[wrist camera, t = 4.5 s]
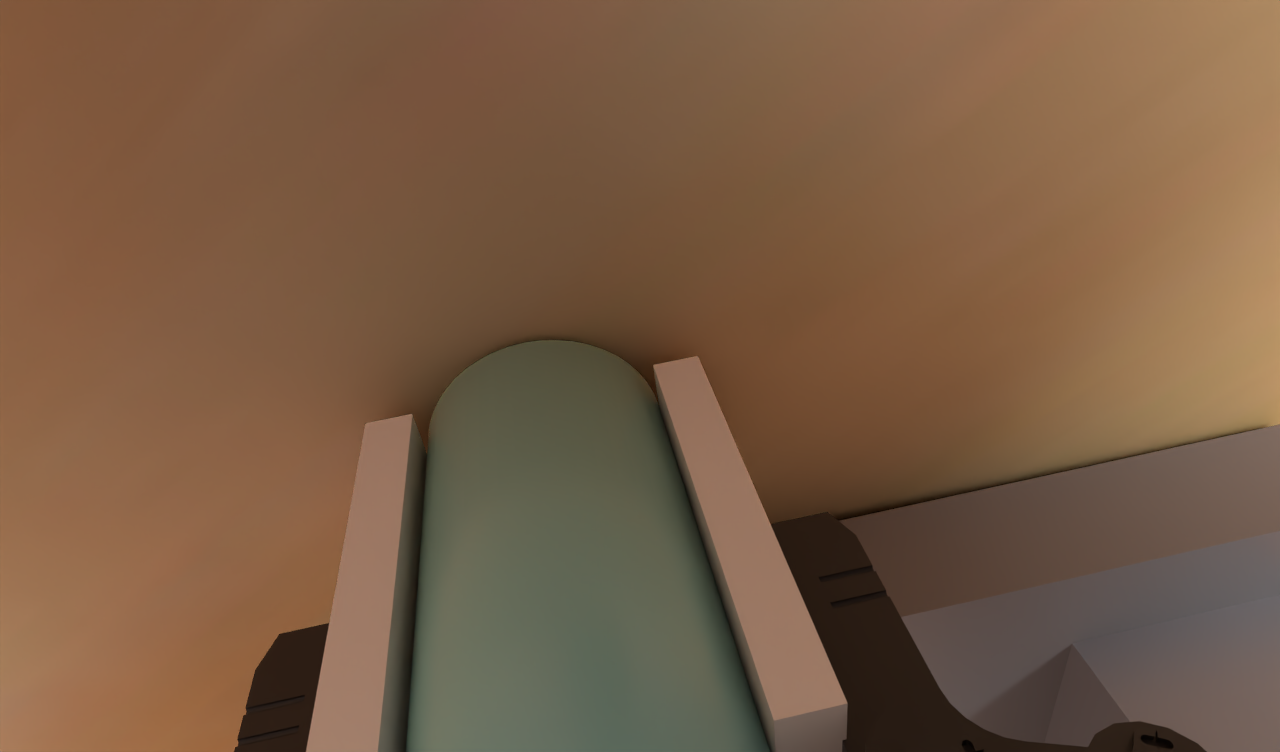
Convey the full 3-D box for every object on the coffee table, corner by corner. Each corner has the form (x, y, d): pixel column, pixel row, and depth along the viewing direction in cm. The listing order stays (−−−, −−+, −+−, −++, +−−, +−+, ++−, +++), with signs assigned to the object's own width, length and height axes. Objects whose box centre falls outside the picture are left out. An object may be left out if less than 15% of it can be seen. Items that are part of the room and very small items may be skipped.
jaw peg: (397, 367, 13) (266, 1323, 5) (647, 317, 13) (940, 1137, 5) (461, 544, 15) (449, 1394, 7) (672, 499, 15) (901, 1265, 7)
